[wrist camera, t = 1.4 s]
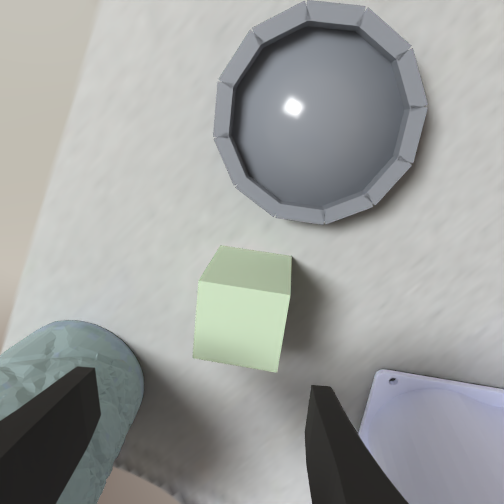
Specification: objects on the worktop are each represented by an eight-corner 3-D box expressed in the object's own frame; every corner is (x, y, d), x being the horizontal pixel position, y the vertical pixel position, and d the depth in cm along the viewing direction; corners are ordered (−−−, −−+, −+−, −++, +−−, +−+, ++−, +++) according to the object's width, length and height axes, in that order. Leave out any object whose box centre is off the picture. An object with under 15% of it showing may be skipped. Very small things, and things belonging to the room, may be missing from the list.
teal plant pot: (-7, 382, 26) (-241, 583, 14) (47, 275, 22) (-203, 427, 11) (118, 455, 27) (-11, 696, 15) (187, 363, 23) (87, 584, 12)
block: (291, 255, 20) (290, 295, 16) (280, 318, 22) (277, 372, 17) (220, 245, 21) (198, 280, 16) (214, 308, 22) (192, 357, 17)
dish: (434, 27, 16) (452, 15, 14) (385, 224, 19) (394, 235, 17) (232, 5, 17) (225, -9, 15) (215, 200, 20) (207, 208, 18)
